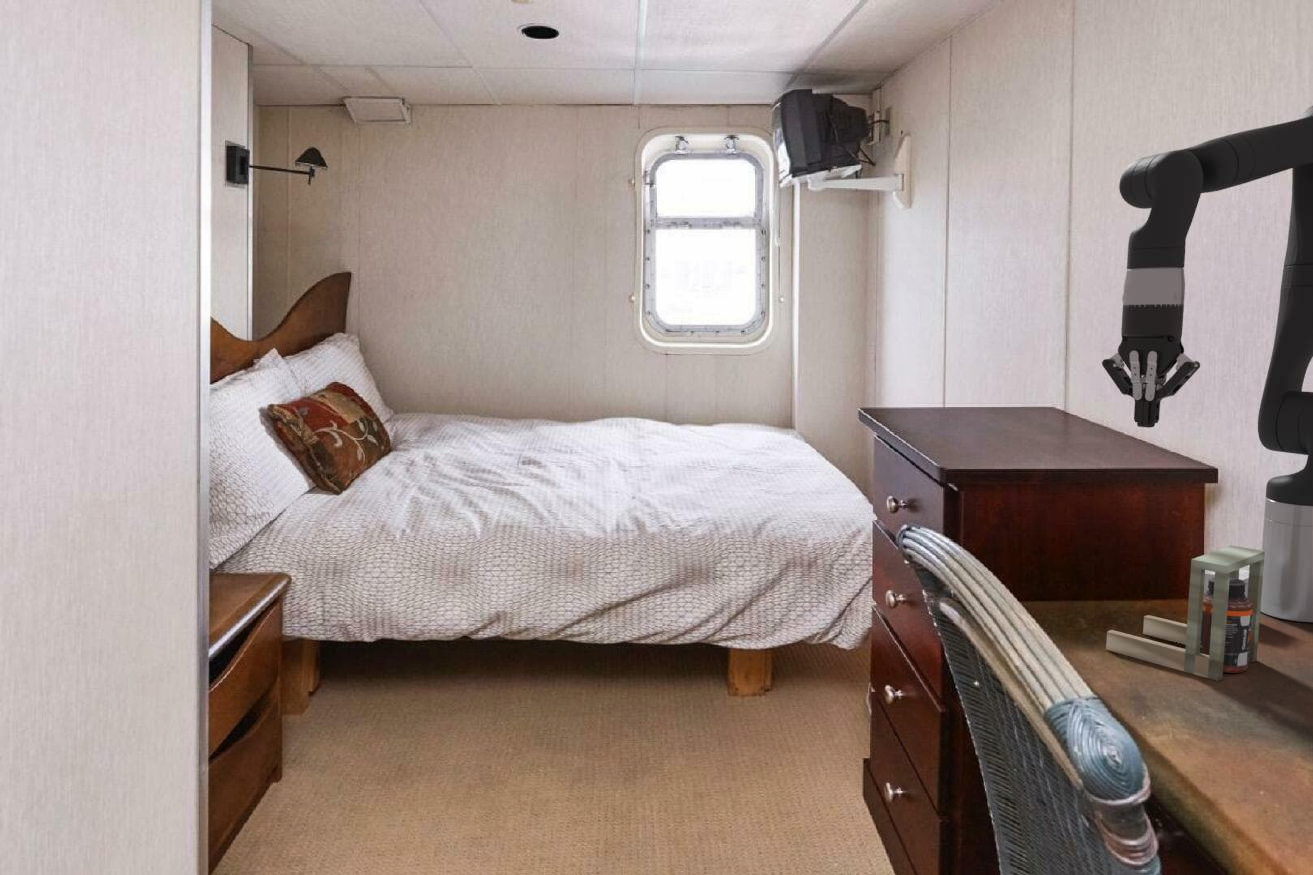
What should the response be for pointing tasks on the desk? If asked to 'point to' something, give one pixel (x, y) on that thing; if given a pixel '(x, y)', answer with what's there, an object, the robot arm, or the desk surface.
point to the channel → (1199, 617)
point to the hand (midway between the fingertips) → (1145, 426)
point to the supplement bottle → (1230, 626)
